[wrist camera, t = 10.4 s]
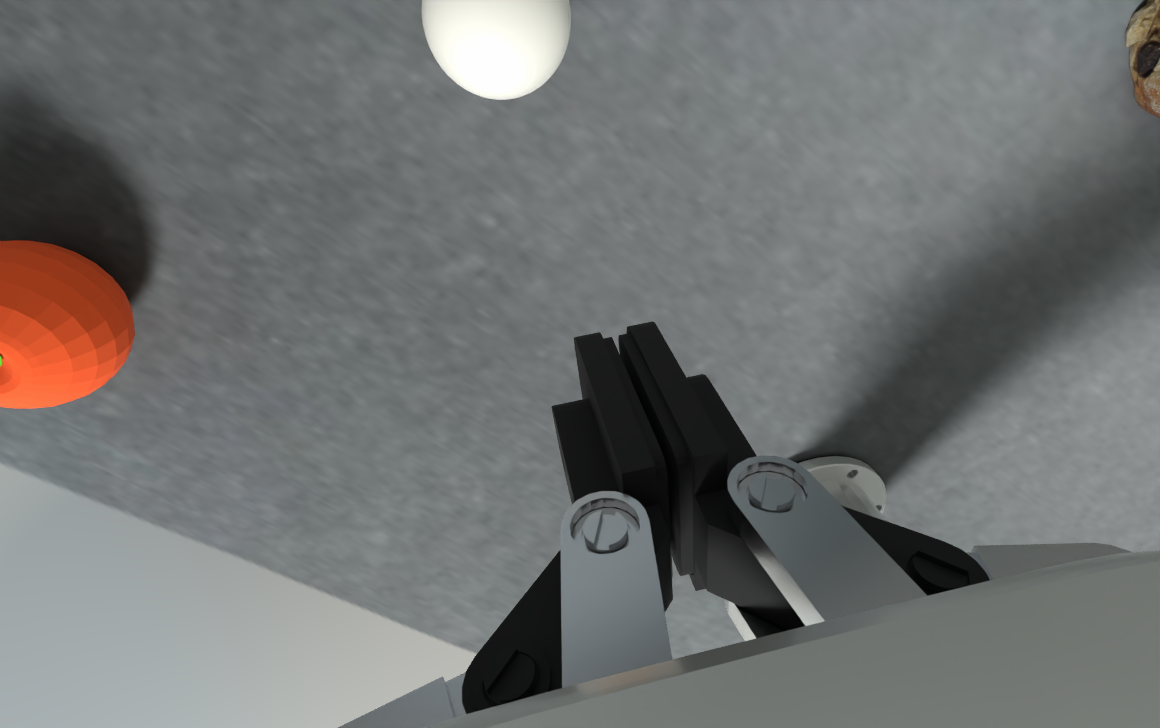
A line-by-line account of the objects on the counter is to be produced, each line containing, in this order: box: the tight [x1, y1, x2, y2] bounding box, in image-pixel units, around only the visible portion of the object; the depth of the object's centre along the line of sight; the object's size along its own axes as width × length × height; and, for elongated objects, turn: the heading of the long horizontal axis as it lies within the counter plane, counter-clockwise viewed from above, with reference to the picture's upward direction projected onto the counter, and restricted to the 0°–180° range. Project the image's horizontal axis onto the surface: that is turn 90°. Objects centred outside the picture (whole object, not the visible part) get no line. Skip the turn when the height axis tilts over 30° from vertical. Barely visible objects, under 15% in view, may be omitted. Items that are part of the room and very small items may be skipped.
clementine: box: [0, 240, 135, 408], centre depth 24 cm, size 8×7×7 cm
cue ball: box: [422, 0, 571, 100], centre depth 22 cm, size 6×6×6 cm
